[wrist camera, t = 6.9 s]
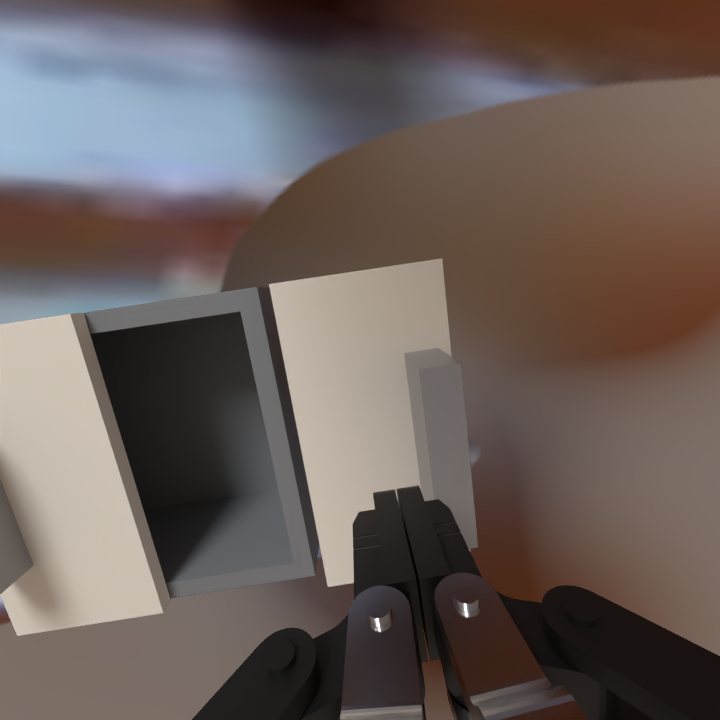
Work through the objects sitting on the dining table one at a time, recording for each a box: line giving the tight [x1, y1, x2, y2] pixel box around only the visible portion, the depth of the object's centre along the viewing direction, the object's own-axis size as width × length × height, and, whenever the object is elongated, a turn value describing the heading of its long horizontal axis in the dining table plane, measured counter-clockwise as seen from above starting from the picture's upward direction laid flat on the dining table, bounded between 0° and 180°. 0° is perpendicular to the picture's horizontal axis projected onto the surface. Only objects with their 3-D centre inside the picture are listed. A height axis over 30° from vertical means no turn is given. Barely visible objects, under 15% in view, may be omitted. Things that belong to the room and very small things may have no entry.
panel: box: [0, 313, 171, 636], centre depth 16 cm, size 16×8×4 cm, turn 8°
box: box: [84, 287, 319, 598], centre depth 22 cm, size 16×16×9 cm
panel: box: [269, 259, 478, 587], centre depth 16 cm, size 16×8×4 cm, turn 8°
